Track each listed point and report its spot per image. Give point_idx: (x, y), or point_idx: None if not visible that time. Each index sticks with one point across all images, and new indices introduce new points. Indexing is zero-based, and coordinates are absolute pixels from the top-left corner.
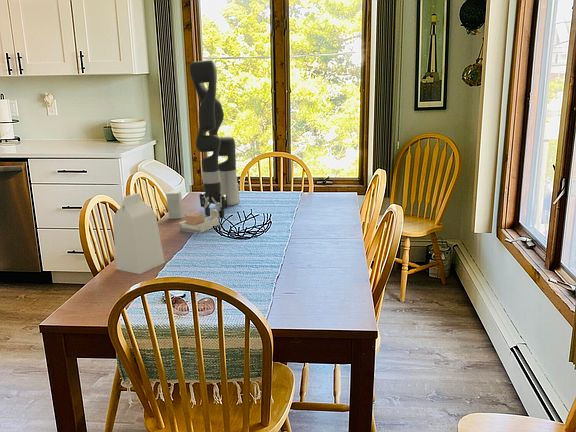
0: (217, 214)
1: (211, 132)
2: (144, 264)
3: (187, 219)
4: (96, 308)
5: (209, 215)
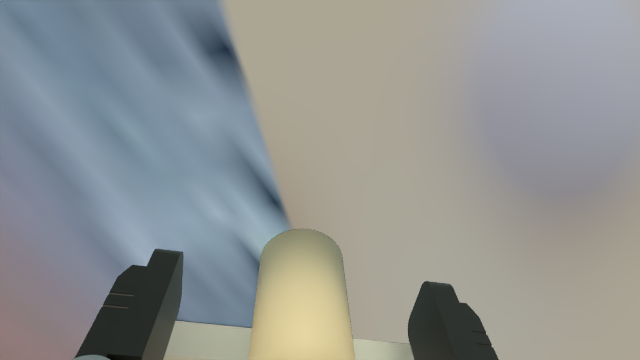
0: (349, 314)
1: None
2: None
3: None
4: None
5: (180, 273)
